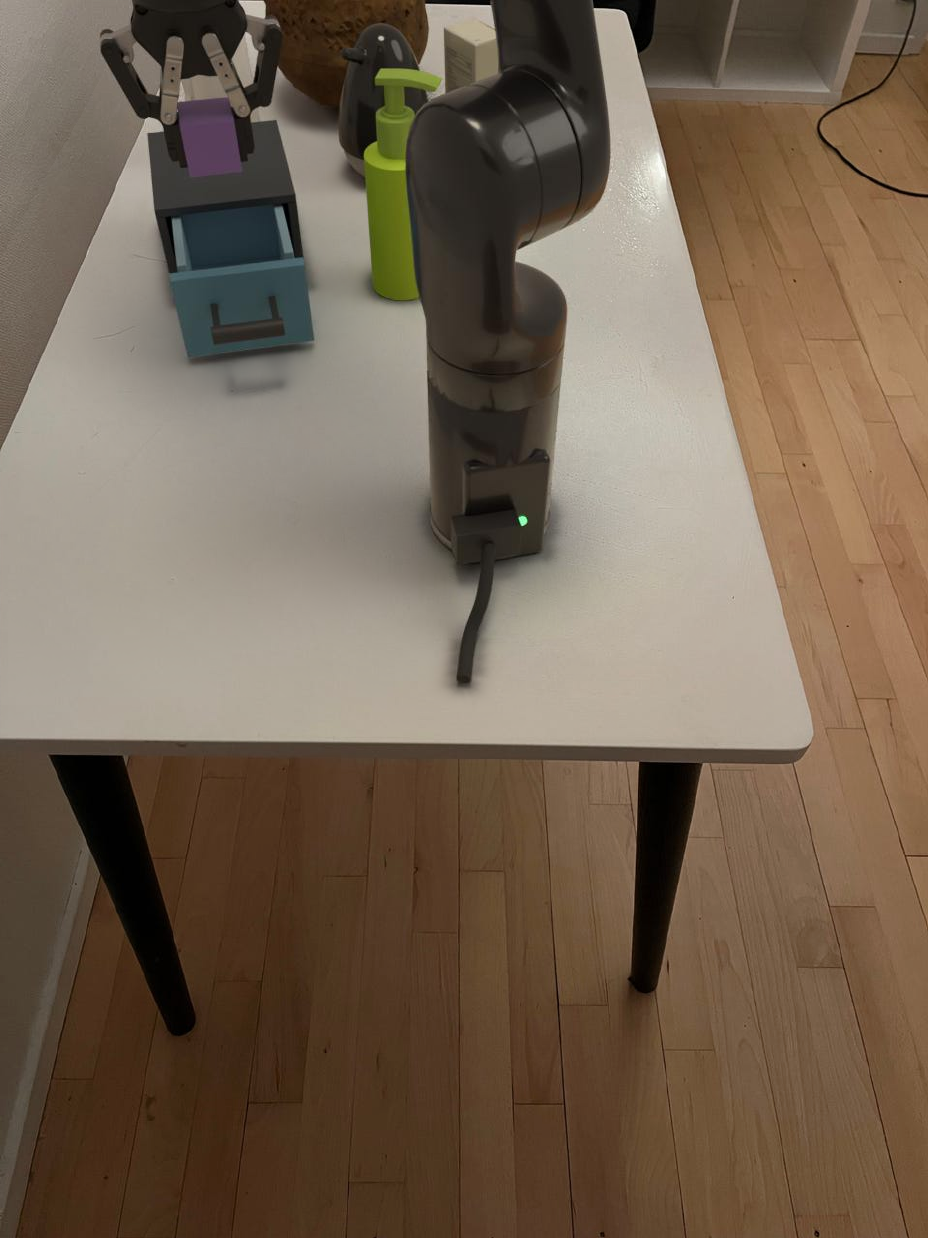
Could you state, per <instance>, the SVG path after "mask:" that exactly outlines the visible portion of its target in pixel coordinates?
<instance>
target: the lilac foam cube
mask: <svg viewBox="0 0 928 1238" xmlns="http://www.w3.org/2000/svg"><path fill="white" fill-rule="evenodd" d="M177 112H178V118H179V125H180V130H181V135H182V140H183V145H184V150H185V155H186V160H187V165H188V170H189V175H190V178H193V177H202V176H211V175H220V174H229V173H239V172H242V167H241V161H240V155H239V148H238V142H237V136H236V130H235V124H234V118H233V114H232V109H231V104H230V100H229V98H228V97H224V98H214V99H204V100H194V101H185V100H183V101H178V106H177Z"/></svg>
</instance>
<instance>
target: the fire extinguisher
mask: <svg viewBox="0 0 928 1238" xmlns="http://www.w3.org/2000/svg"><path fill="white" fill-rule="evenodd" d="M238 1H239V2H240V0H238ZM232 61H233V63H234V66H235V68H236V71H237V74H238V76H239V78H240V80H241V83H242V85H243V87H244V88H245V87H247V86H249V85H251V84H253V81H254V76H253V71H252V67H251V61H250V56H249V50H248V44H247V38H246V33H245V34H244V36H243V38H242V40H241V42H240V44H239V46H238V48H237V50H236V52H235V54H234V56H233V58H232ZM180 83H181V86H182V89H183V92H184V101H194V100H204V99H214V98H224V97H228V96H227V94H226V92H225V91H224V89H223V87H222V84H221V82H220V80H219V78H218V76H211V77H209V76H203V75H197V76H194V77H192V78H189V79H181V80H180ZM230 104H231V102H230ZM231 106H232V104H231ZM250 119H251V122H261V117H260V112H259V107H258V108H256V109H254V110H253V111H252V113H251V116H250Z"/></svg>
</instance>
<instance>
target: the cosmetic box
mask: <svg viewBox="0 0 928 1238" xmlns="http://www.w3.org/2000/svg"><path fill="white" fill-rule="evenodd" d="M443 51H444V56H443V57H444V91H445V92H444V94H445V93H447V92H450V91H453V90H455V89H458V88H460V87H464V86H466V85H469V84H471V83H474V82H477V81H480V80H482V79H485V78H488V77H490V76H493V75H496V74H498V51H497V41H496V33H495V27H492V26H490V25H489V24H487V23H485V22H483V21H481V20H479V19H477V18H471V19H468V20H463V21H460V22H457V23H456V22H455V23H453V24H449V25H445V26H443Z"/></svg>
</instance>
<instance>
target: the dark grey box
mask: <svg viewBox="0 0 928 1238" xmlns="http://www.w3.org/2000/svg"><path fill="white" fill-rule="evenodd" d="M251 125H252V132H253V139H254V145H255V148H254V152H253V153H252V154H247V156H248V161H246V162H241V167H242V172H239V173H229V174H220V175H211V176H202V177H193V178H190V175H189V170H188V168H180V164H179V161H176V162H173V161H172V160H171V158H170V157H169V154H168V149H167V144H166V140H165V135H164V130H162V131H155V132H154V131H153V132H147V134H146V135H147V145H148V156H149V167H150V176H151V178H150V179H151V190H152V200H153V211H154V215H155V219H156V223H157V228H158V232H159V237H160V242H161V245H162V248H163V253H164V257H165V261H166V266H167V270H168V275H169V274H170V273H178V269H177V264H176V255H175V246H174V236H173V227H172V218H171V216H177V215H186V214H195V213H203V212H212V211H221V210H229V209H238V208H247V207H256V206H264V205H273V204H282V206H283V211H284V215H285V219H286V223H287V227H288V232H289V236H290V240H291V244H292V248H293V253H294V258H301V257H303V259H305V258H304V251H303V243H302V236H301V228H300V218H299V211H298V204H297V203H298V202H297V195H296V192H295V187H294V183H293V180H292V175H291V170H290V168H289V163H288V159H287V156H286V152H285V149H284V143H283V139H282V137H281V131H280V128H279V123H278V120H276V119H271V120H263V121H262V120H260V122H251Z"/></svg>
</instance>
